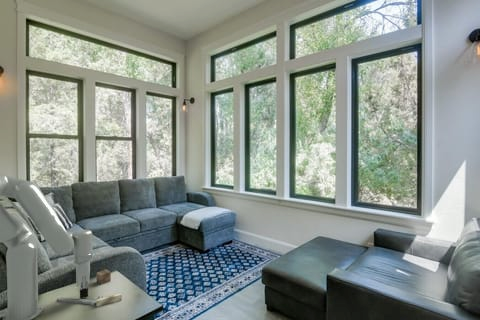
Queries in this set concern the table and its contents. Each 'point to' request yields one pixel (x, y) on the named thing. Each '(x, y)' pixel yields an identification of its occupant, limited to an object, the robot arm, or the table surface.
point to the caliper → (80, 300)
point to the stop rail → (109, 299)
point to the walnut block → (103, 277)
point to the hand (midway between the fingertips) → (84, 296)
